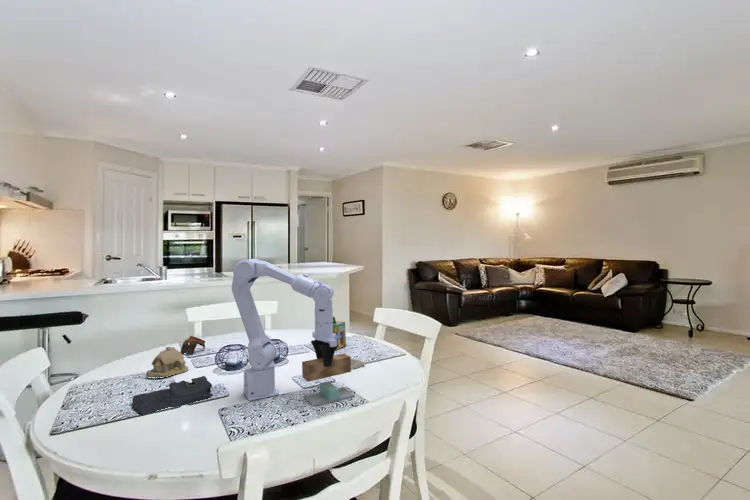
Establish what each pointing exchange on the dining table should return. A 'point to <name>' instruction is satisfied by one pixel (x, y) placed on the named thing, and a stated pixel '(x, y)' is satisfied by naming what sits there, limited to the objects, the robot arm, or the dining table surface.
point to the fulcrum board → (323, 400)
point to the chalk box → (339, 333)
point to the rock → (356, 363)
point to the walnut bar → (318, 370)
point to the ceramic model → (167, 363)
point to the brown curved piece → (191, 344)
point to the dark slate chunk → (173, 395)
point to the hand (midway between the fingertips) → (324, 364)
